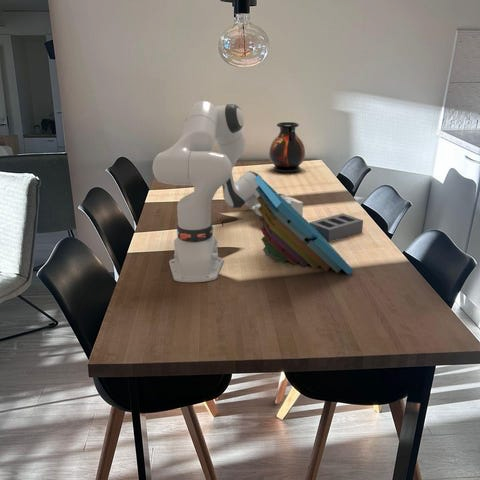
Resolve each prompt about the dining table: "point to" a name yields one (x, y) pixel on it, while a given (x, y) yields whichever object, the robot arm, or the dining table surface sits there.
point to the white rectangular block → (297, 206)
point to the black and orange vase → (287, 149)
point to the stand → (338, 226)
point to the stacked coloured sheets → (293, 234)
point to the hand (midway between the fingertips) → (288, 211)
